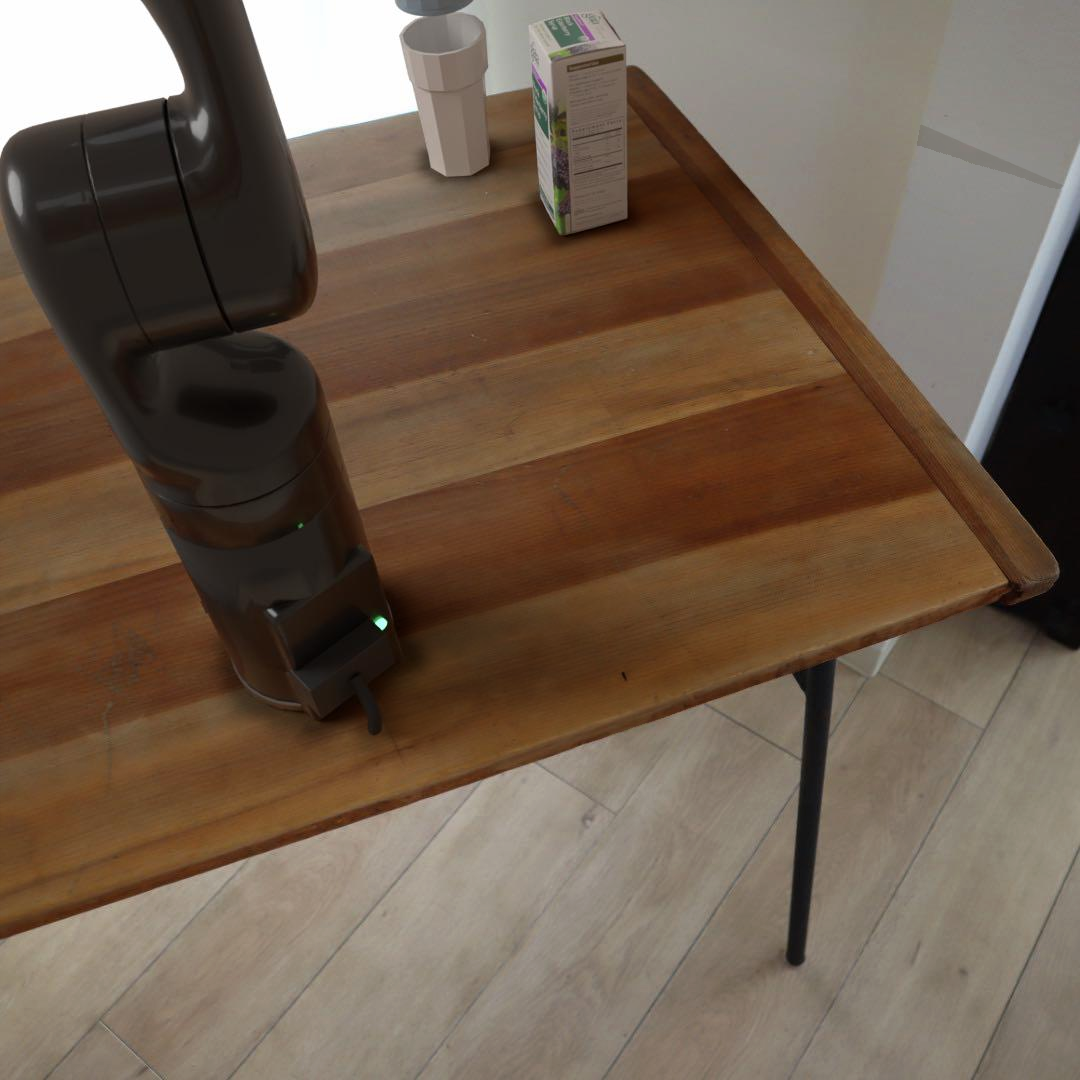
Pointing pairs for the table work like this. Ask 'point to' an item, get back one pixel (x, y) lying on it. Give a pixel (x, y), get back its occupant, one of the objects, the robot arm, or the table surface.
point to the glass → (431, 6)
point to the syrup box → (580, 119)
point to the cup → (450, 89)
